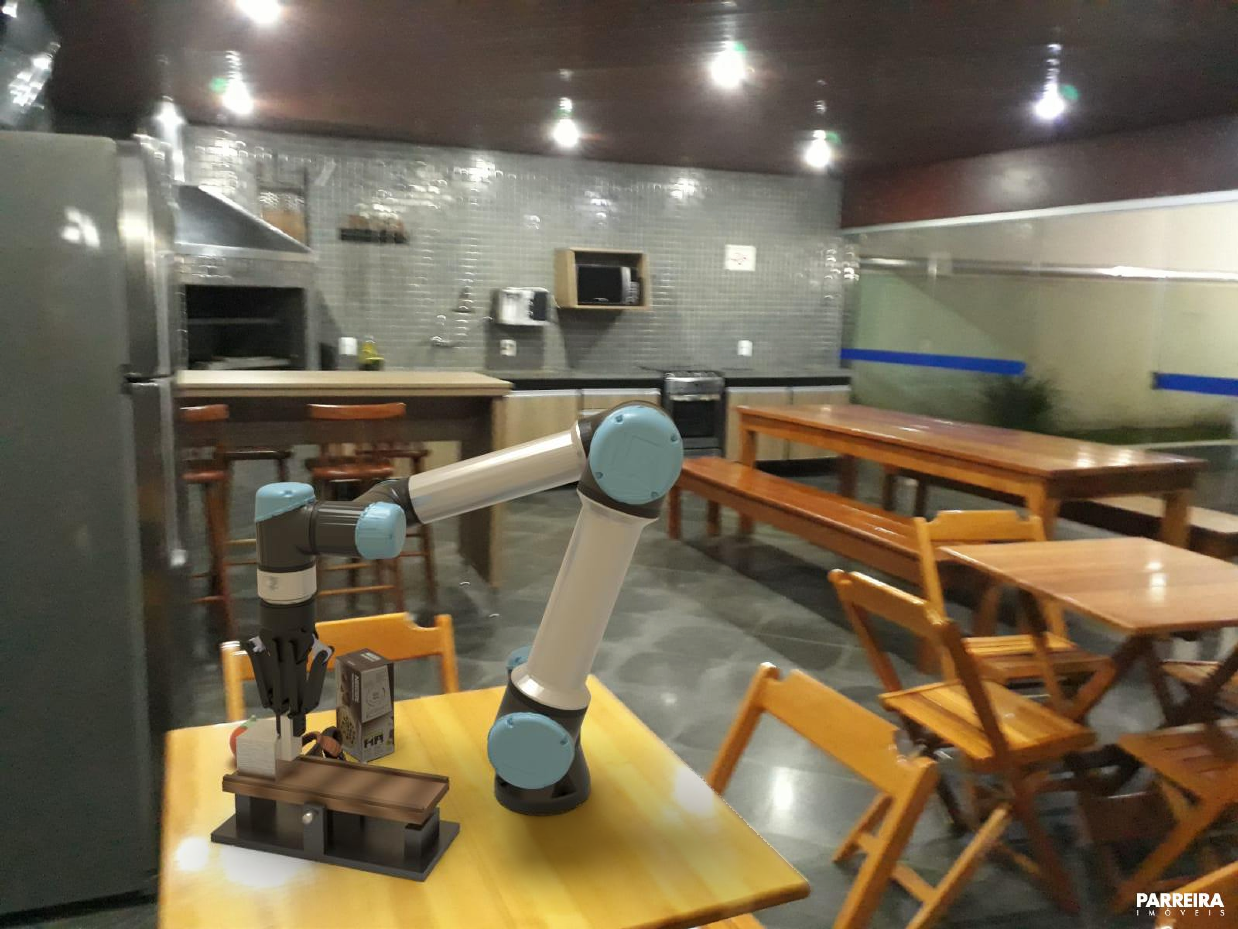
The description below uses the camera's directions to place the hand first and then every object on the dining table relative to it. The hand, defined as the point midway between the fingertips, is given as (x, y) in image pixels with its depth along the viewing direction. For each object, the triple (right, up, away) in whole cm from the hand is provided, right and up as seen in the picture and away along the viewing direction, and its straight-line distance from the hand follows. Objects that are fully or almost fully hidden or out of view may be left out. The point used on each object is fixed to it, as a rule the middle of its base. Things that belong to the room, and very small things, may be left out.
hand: (292, 755), depth 123 cm
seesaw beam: (+7, -5, -1) cm, 8 cm away
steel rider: (-4, -2, +1) cm, 5 cm away
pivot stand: (+6, -12, 0) cm, 13 cm away
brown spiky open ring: (-2, -9, +17) cm, 19 cm away
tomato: (-14, -8, +20) cm, 25 cm away
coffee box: (+3, -7, +25) cm, 27 cm away
